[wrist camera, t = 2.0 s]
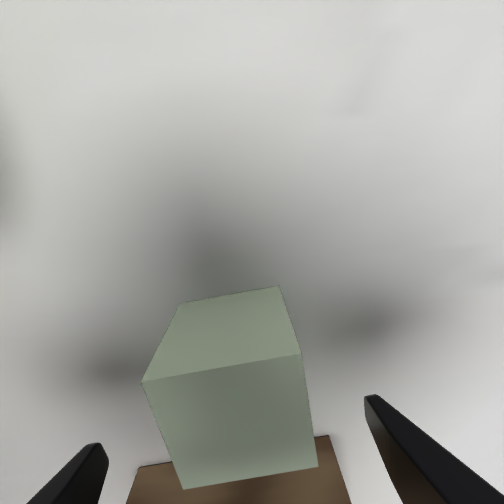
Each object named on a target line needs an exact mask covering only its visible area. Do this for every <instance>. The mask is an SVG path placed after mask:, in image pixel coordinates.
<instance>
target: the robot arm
mask: <svg viewBox="0 0 504 504" xmlns="http://www.w3.org/2000/svg"><path fill="white" fill-rule="evenodd" d="M364 407H365V417H366V420H367V423H368V426H369V428H370V430H371V433H372V435H373V438H374V440H375V443H376V445H377V447H378V450H379V452H380V455H381V457H382V460H383V462H384V464H385V467H386V469H387V472H388V474H389V476H390V479H391V481H392V483H393V485H394V487H395V489H396V491H397V493H398V495H399V497H400V498H401V500H402V502H403V504H504V495H503V494H501V493H500V492H499V491H498V490H496V489H495V488H494V487H493V486H491V485H490V484H489V483H488V482H486V481H485V480H484V479H483V478H481V477H480V476H479V475H478V474H476V473H475V472H474V471H473V470H471V469H470V468H469V467H468V466H466V465H465V464H464V463H463V462H461V461H460V460H459V459H457V458H456V457H455V456H454V455H452V454H451V453H450V452H449V451H447V450H446V449H445V448H444V447H442V446H441V445H440V444H439V443H437V442H436V441H435V440H434V439H432V438H431V437H430V436H429V435H427V434H426V433H425V432H424V431H422V430H421V429H420V428H419V427H417V426H416V425H415V424H414V423H412V422H411V421H410V420H409V419H407V418H406V417H405V416H404V415H402V414H401V413H400V412H399V411H397V410H396V409H395V408H394V407H392V406H391V405H390V404H389V403H387V402H386V401H385V400H384V399H382V398H381V397H380V396H378V395H376V394H373V395H368V396H365V397H364ZM108 466H109V459H108V456H107V454H106V452H105V450H104V448H103V446H102V445H101V443H92V444H88V445H86V446H85V447H84V448H83V449H81V450H80V451H79V452H78V453H77V454H76V455H75V456H74V457H73V458H72V459H71V460H70V461H69V462H68V463H67V464H66V465H65V466H64V467H63V468H62V469H61V470H60V471H59V472H58V473H57V474H56V475H55V476H54V477H53V478H52V479H51V480H50V481H49V482H48V483H47V484H46V485H45V486H44V487H43V488H42V489H41V490H40V491H39V492H38V493H37V494H36V495H35V496H34V497H33V498H32V499H31V500H30V501H29V502H28V503H27V504H98V501H99V498H100V494H101V491H102V487H103V484H104V480H105V477H106V474H107V470H108Z"/></svg>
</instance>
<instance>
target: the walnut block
mask: <svg viewBox="0 0 504 504" xmlns="http://www.w3.org/2000/svg"><path fill="white" fill-rule="evenodd" d="M314 440H315V447H316V454H317V460H318V467H314V468H308V469H302V470H296V471H291V472H285V473H279V474H273V475H267V476H261V477H255V478H249V479H243V480H237V481H232V482H226V483H220V484H214V485H208V486H202V487H196V488H190V489H184V490H183V488H182V485H181V483H180V480H179V478H178V475H177V473H176V470H175V467H174V465H173V462H170V463H164V464H159V465H153V466H147V467H141V468H139V469H138V471H137V474H136V477H135V480H134V482H133V485H132V488H131V491H130V493H129V496H128V499H127V502H126V504H351V501H350V498H349V495H348V492H347V489H346V486H345V483H344V480H343V477H342V474H341V471H340V468H339V465H338V462H337V459H336V456H335V453H334V450H333V447H332V444H331V440H330V437H329V436H323V437H317V438H314Z"/></svg>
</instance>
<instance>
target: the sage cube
mask: <svg viewBox="0 0 504 504" xmlns="http://www.w3.org/2000/svg"><path fill="white" fill-rule="evenodd" d="M141 384H142V386H143V389H144V391H145V394H146V396H147V399H148V402H149V404H150V407H151V409H152V412H153V414H154V417H155V419H156V422H157V424H158V427H159V429H160V432H161V434H162V437H163V440H164V442H165V445H166V447H167V450H168V452H169V455H170V457H171V460H172V462H173V465H174V467H175V470H176V473H177V475H178V478H179V480H180V483H181V485H182V488H183V490H184V489H190V488H196V487H202V486H208V485H214V484H220V483H226V482H232V481H237V480H243V479H249V478H255V477H261V476H267V475H273V474H279V473H285V472H291V471H296V470H302V469H308V468H314V467H318V460H317V454H316V447H315V440H314V434H313V427H312V420H311V414H310V407H309V400H308V394H307V387H306V380H305V373H304V367H303V360H302V353H301V350H300V347H299V344H298V341H297V338H296V335H295V332H294V329H293V326H292V323H291V320H290V317H289V315H288V312H287V309H286V306H285V303H284V300H283V297H282V294H281V291H280V288H279V286H273V287H268V288H262V289H257V290H251V291H246V292H240V293H235V294H229V295H224V296H219V297H213V298H208V299H202V300H197V301H191V302H186V303H180V305H179V307H178V309H177V311H176V313H175V315H174V317H173V319H172V321H171V322H170V324H169V326H168V328H167V330H166V332H165V334H164V336H163V338H162V340H161V342H160V344H159V346H158V348H157V350H156V352H155V354H154V356H153V358H152V360H151V362H150V364H149V366H148V368H147V370H146V372H145V374H144V376H143V378H142V380H141Z"/></svg>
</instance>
